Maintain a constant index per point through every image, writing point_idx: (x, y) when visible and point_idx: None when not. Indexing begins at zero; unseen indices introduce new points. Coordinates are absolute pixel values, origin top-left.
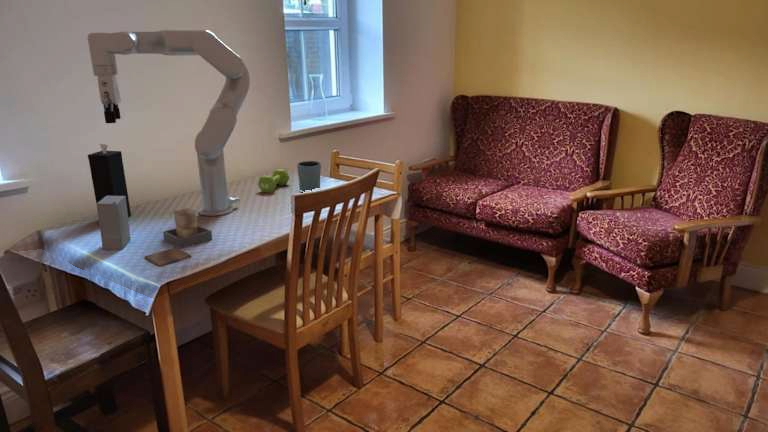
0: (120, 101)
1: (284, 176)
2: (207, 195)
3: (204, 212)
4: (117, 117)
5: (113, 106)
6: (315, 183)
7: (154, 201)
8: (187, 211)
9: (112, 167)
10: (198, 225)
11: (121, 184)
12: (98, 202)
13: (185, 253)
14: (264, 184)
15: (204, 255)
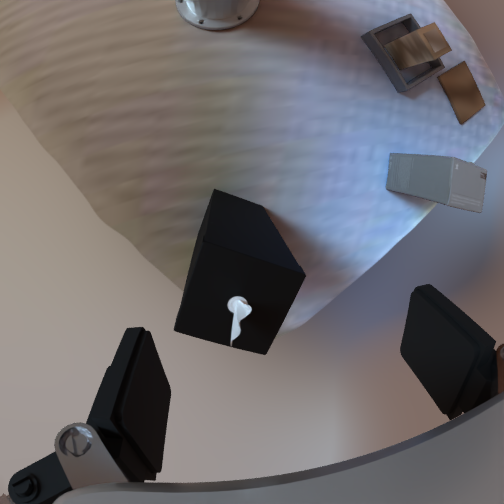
0: (162, 495)
1: None
2: None
3: (248, 14)
4: (152, 354)
5: (132, 471)
6: None
7: (93, 167)
8: (440, 36)
9: (273, 246)
10: (381, 26)
11: (234, 214)
12: (477, 210)
13: (459, 66)
14: None
15: (458, 44)
